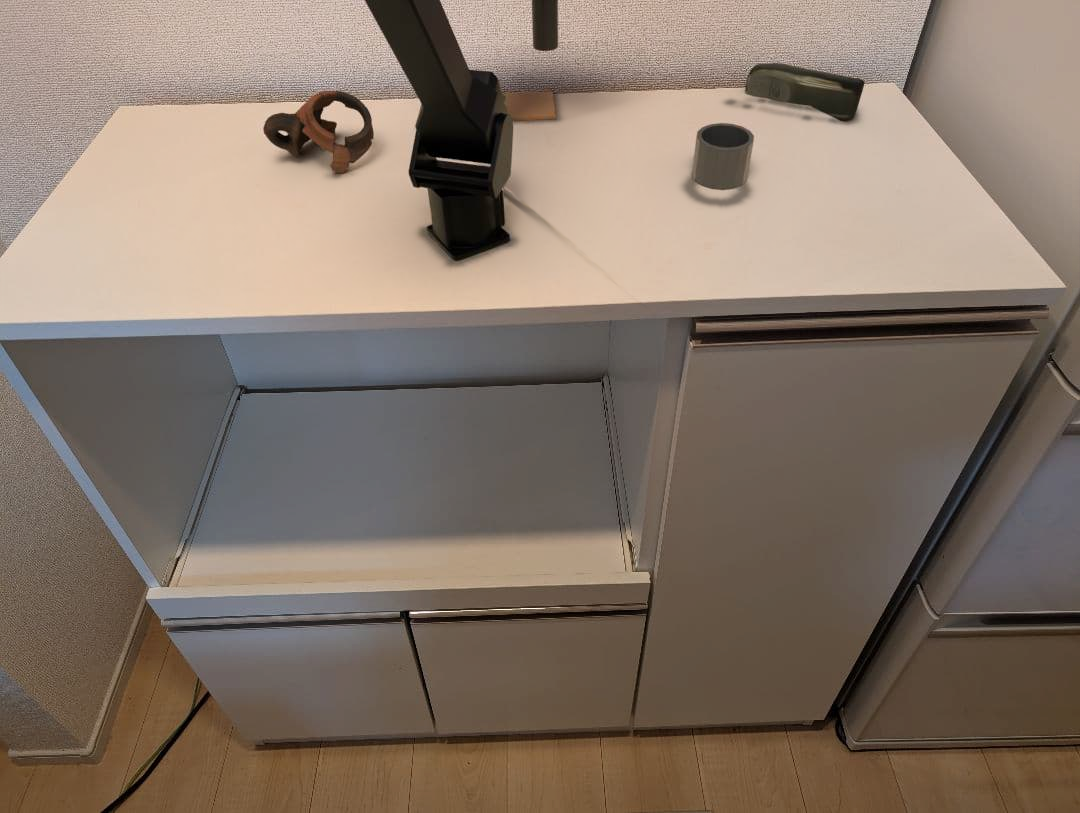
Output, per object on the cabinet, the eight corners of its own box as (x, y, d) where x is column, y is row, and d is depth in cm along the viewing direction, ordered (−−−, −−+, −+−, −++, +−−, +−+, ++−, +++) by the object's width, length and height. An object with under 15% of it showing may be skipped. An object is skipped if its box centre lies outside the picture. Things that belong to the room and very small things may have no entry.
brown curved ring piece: (355, 131, 99) (368, 82, 92) (372, 194, 96) (388, 149, 89) (254, 128, 93) (260, 77, 87) (270, 196, 91) (277, 148, 84)
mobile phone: (867, 74, 95) (741, 55, 99) (864, 85, 93) (736, 65, 97) (855, 114, 98) (734, 94, 102) (852, 125, 96) (729, 104, 100)
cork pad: (483, 122, 99) (483, 118, 99) (483, 97, 104) (483, 94, 104) (555, 118, 99) (555, 115, 99) (552, 94, 104) (552, 91, 104)
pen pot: (714, 208, 84) (722, 155, 80) (679, 184, 87) (685, 132, 83) (756, 191, 86) (765, 139, 82) (720, 169, 89) (727, 118, 85)
